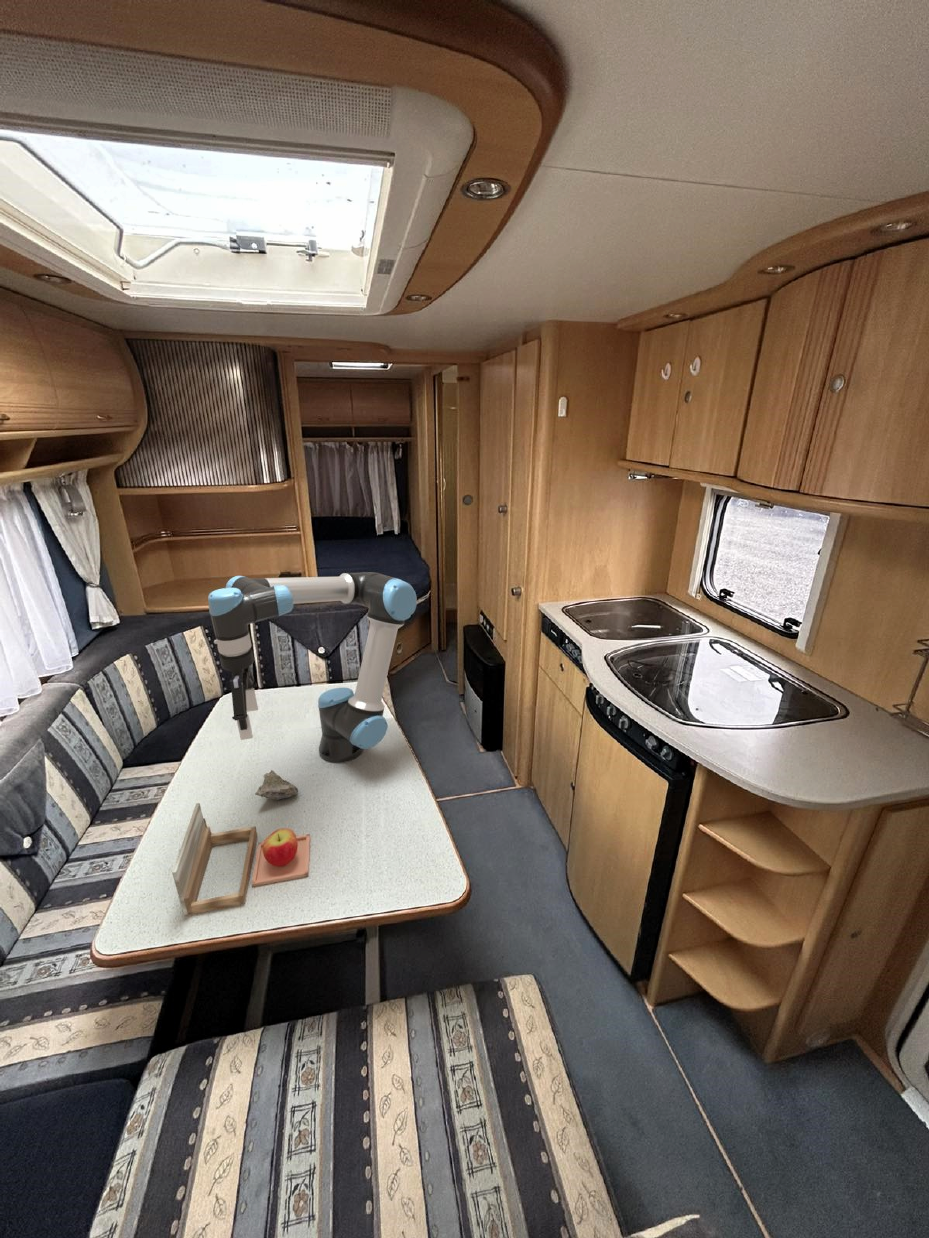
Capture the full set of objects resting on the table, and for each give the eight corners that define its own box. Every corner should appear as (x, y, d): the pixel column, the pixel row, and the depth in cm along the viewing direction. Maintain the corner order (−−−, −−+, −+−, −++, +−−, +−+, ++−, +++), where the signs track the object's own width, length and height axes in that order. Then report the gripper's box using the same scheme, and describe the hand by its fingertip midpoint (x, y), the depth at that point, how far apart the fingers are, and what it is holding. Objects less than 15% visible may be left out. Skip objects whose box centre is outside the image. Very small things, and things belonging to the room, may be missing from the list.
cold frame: (258, 833, 138) (250, 791, 133) (245, 906, 117) (235, 861, 112) (207, 841, 136) (196, 800, 130) (184, 918, 115) (171, 872, 109)
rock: (254, 791, 144) (263, 769, 153) (254, 808, 146) (262, 785, 155) (295, 794, 146) (302, 771, 155) (294, 810, 148) (300, 787, 157)
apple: (266, 878, 124) (260, 847, 120) (264, 853, 131) (258, 822, 127) (301, 867, 127) (296, 836, 123) (297, 843, 134) (292, 813, 130)
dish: (310, 839, 136) (309, 833, 136) (308, 878, 125) (307, 872, 124) (259, 848, 134) (258, 843, 133) (252, 889, 122) (251, 883, 121)
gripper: (226, 633, 135) (240, 701, 143) (209, 675, 113) (227, 754, 121) (256, 629, 137) (268, 697, 145) (245, 671, 115) (260, 748, 122)
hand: (249, 723), depth 133 cm, fingers open, 13 cm apart
